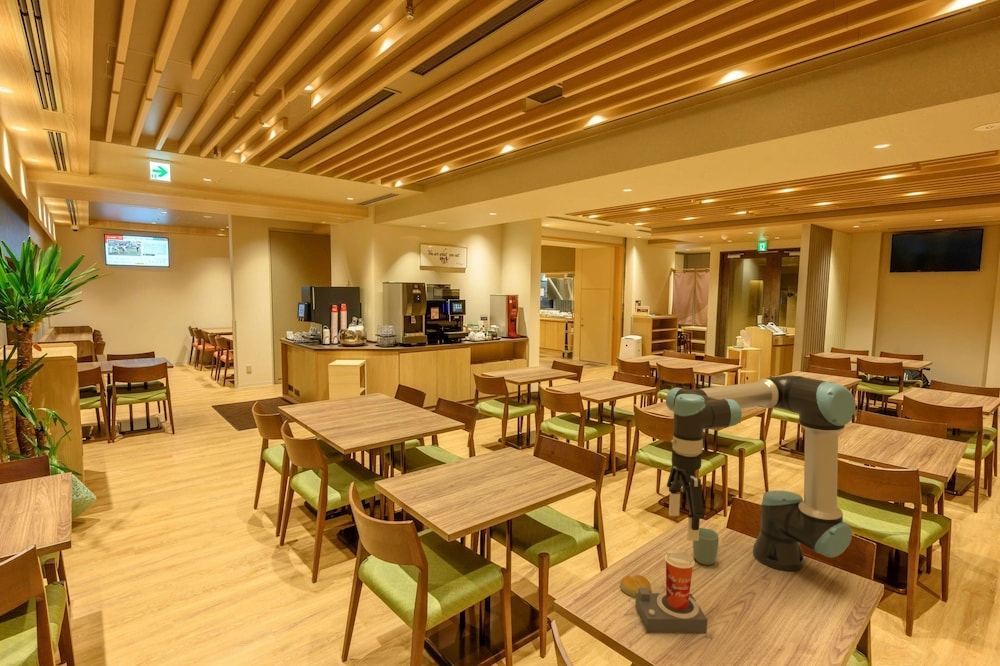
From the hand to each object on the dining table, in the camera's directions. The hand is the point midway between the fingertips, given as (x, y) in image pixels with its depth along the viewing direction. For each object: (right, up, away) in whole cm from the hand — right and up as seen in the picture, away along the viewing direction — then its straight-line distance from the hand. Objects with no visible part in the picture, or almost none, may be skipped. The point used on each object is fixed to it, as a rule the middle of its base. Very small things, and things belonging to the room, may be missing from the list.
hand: (682, 527), depth 136 cm
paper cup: (-1, -22, +2) cm, 22 cm away
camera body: (-3, -27, +2) cm, 27 cm away
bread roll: (-9, -25, +15) cm, 31 cm away
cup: (+19, -24, +31) cm, 44 cm away
